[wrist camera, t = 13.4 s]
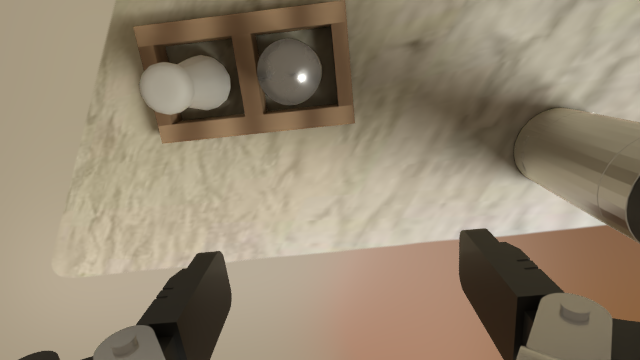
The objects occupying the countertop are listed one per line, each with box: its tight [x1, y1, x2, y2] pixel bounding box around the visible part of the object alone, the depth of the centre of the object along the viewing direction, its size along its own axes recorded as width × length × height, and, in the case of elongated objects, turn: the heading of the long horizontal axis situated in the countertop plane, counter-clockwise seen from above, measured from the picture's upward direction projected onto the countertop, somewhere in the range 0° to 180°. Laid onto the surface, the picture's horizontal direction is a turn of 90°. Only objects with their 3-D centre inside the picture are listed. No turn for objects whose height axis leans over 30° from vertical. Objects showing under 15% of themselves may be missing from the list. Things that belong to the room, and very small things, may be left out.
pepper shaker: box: [257, 39, 322, 105], centre depth 36 cm, size 6×6×10 cm
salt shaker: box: [139, 55, 231, 115], centre depth 35 cm, size 6×6×13 cm
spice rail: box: [133, 0, 355, 144], centre depth 40 cm, size 22×12×3 cm, turn 96°
